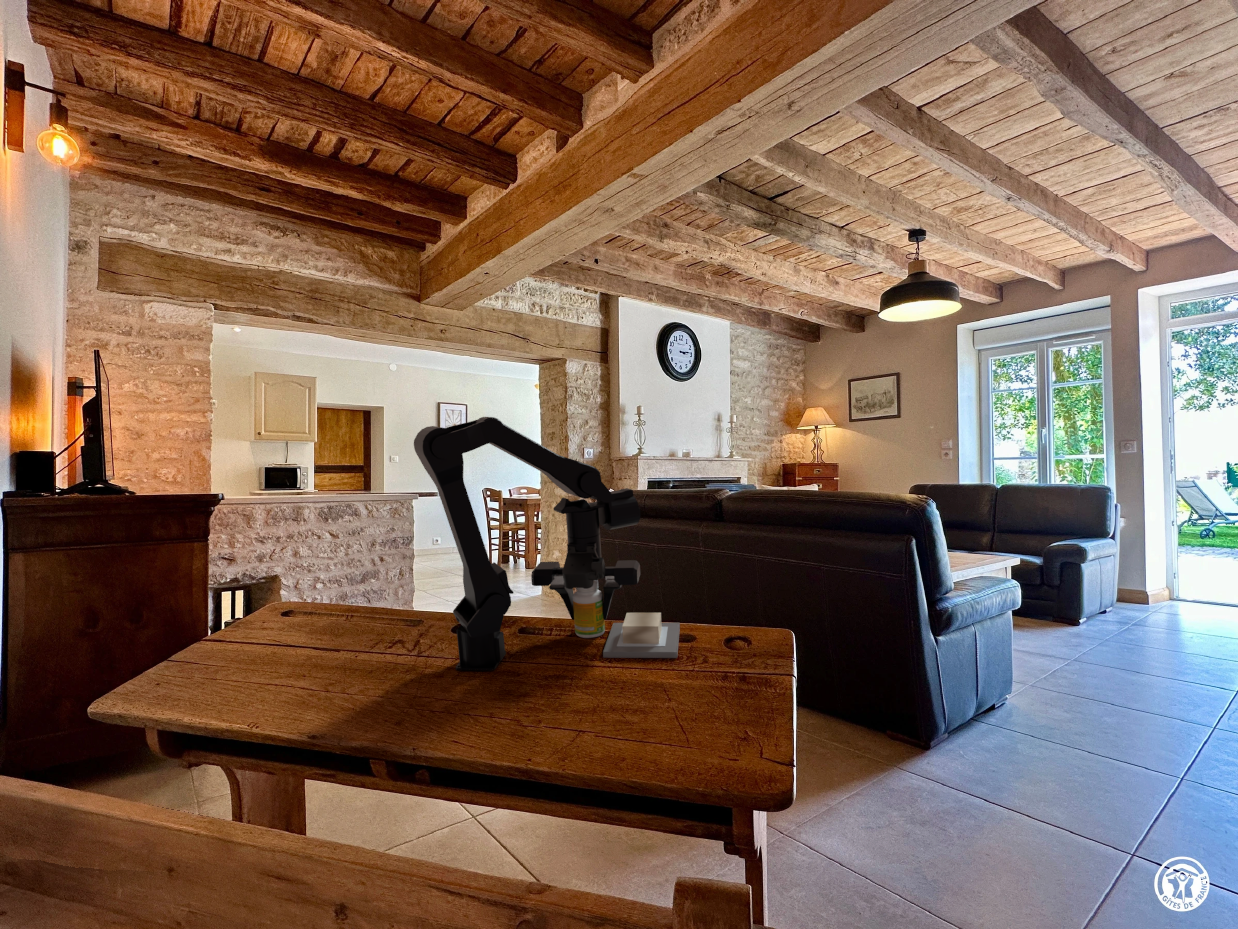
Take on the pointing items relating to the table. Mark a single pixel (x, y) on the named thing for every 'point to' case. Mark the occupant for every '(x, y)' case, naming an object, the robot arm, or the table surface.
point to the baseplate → (628, 650)
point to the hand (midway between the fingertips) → (589, 619)
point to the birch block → (642, 628)
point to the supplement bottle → (588, 612)
